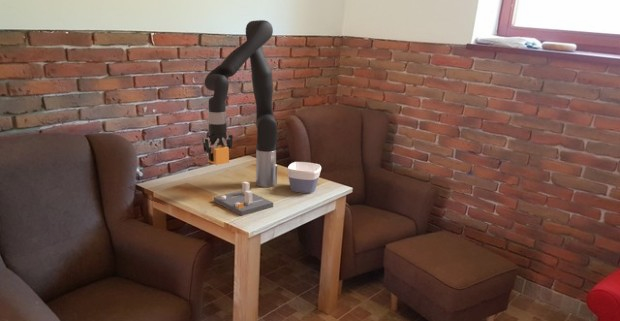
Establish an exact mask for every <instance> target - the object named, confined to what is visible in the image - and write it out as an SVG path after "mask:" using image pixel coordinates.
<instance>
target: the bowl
mask: <svg viewBox="0 0 620 321" xmlns="http://www.w3.org/2000/svg"><path fill="white" fill-rule="evenodd" d="M321 171H322V166H321V165H320V163H319V164H318V163H313V162H307V161H306V162H305V161H294V162H291V163H290V164H289V165H288V167H287V169H286V172H287V176H288V182H289V186H290V190H291V191H292V192H296V193H303V194H311V193H314V192H315V191H316V189H317V185H318V182H319V178H320V175H321Z"/></svg>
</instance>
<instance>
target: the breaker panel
mask: <svg viewBox="0 0 620 321" xmlns="http://www.w3.org/2000/svg"><path fill="white" fill-rule="evenodd" d="M241 192H242V189H241V190H239V191H234V192H229V193H226V194H221V195H217V196H214V197H213V202H214V203H216V204H217V205H220V206H221V207H223V208H226V209H228V210H229V211H231V212H233V213H235V214H237V215H239V216H242V217H243V216H244V217H245V216H247V215H249V214H253V213H256V212H260V211H264V210H268V209H271V208H273V207H274V202H273V201H271V200H269V199H266V198H264V197H263V196H259V195H258V194H255V193H253V192H252V201H253V202H254V204H252V205H246V204H244V203H243V201H245V195H243V194H241Z"/></svg>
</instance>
